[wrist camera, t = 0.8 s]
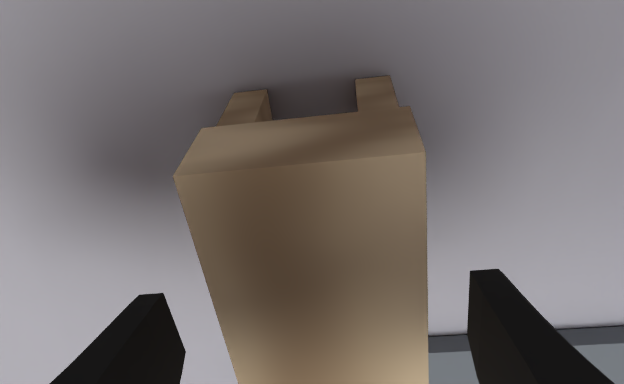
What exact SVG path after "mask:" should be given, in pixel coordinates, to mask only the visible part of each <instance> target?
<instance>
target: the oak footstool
mask: <svg viewBox="0 0 624 384" xmlns="http://www.w3.org/2000/svg"><path fill="white" fill-rule="evenodd" d="M355 85H356V97H357V108H358V112H349V113H340V114H330V115H321V116H311V117H302V118H292V119H283V120H273V119H272V114H271V109H270V103H269V98H268V92H267V89H265V90H256V91H247V92H238V93H234V94H233V96H232V98H231V99H230V101H229V103H228V105H227V107H226V109H225V111H224V112H223V114H222V116H221V118H220V120H219V122H218V124H217V125H216V127H207V128H201V130H200V131H199V133H198V135H197V136H196V138H195V140H194V142H193V143H192V145H191V147H190V148H189V150H188V152H187V153H186V155H185V157H184V158H183V160H182V162H181V163H180V165H179V167H178V168H177V170H176V172H175V173H174V175H173V179H174V182H175V185H176V188H177V191H178V195H179V198H180V201H181V204H182V207H183V210H184V214H185V217H186V220H187V223H188V226H189V229H190V232H191V236H192V239H193V242H194V245H195V248H196V251H197V255H198V258H199V261H200V264H201V267H202V270H203V273H204V277H205V280H206V283H207V286H208V289H209V292H210V296H211V299H212V302H213V305H214V308H215V311H216V314H217V318H218V321H219V324H220V327H221V330H222V333H223V336H224V340H225V343H226V346H227V349H228V352H229V355H230V359H231V362H232V365H233V368H234V371H235V374H236V377H237V381H238V384H429V365H428V287H427V208H426V151H425V148H424V146H423V143H422V140H421V137H420V134H419V131H418V128H417V125H416V123H415V120H414V117H413V114H412V111H411V108H410V106H406V107H399V105H398V102H397V98H396V95H395V92H394V88H393V85H392V81H391V78H390V75H389V76H380V77H371V78H362V79H355Z"/></svg>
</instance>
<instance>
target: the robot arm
mask: <svg viewBox="0 0 624 384" xmlns="http://www.w3.org/2000/svg"><path fill="white" fill-rule="evenodd" d="M467 336H468V341H469V345H470V350H471V354H472V358H473V362H474V367H475V371H476V375H477V379H478V382H479V384H615V383H614V382H612V381H611V380H610V379H609V378H608V377H607V376H605V375H604V374H603V373H602V372H601V371H600V370H599V369H598V368H596V367H595V366H594V365H593V364H592V363H591V362H590V361H589V360H587V359H586V358H585V357H584V356H583V355H582V354H581V353H580V352H579V351H578V350H577V349H576V348H574V347H573V346H572V345H571V344H570V343H569V342H568V341H567V340H566V339H565V338H564V337H563V336H562V335H561V334H560V333H559V332H558V331H557V330H556V329H555V328H554V327H553V326H552V325H551V324H550V323H549V322H548V321H547V320H546V319H545V318H544V317H543V316H542V315H541V314H540V313H539V312H538V311H537V310H536V309H535V308H534V307H533V306H532V305H531V303H530V302H529V301H528V300H527V299H526V298H525V297H524V296H523V295H522V294H521V293H520V292H519V290H518V289H517V288H516V287H515V286H514V285H513V284H512V283H511V282H510V280H509V279H508V278H507V277H506V276H505V275H504V274H503V273H502V272H501V271H500V270H499V269H489V270H475V271H470V285H469V307H468V329H467ZM185 353H186V351H185V349H184V346H183V343H182V341H181V338H180V336H179V333H178V330H177V328H176V325H175V322H174V320H173V317H172V315H171V312H170V309H169V307H168V304H167V302H166V299H165V296H164V294H163V293H158V294H144V295H139V296H138V297H136V298H135V299H134V300H133V301H132V302H131V303H130V304H129V305H128V306H127V307H126V308H125V309H124V310H123V311H122V312H121V313H120V314H119V315H118V316H117V317H116V318H115V320H114V321H113V322H112V323H111V324H110V325H109V326H108V327H107V328H106V329H105V330H104V331H103V332H102V333H101V334H100V335H99V336H98V337H97V338H96V339H95V340H94V341H93V342H92V343H91V344H90V345H89V346H88V347H87V348H86V349H85V350H84V351H83V352H82V353H81V354H80V355H79V356H78V357H77V358H76V359H75V360H74V361H73V362H72V363H71V364H70V365H69V366H68V367H67V368H66V369H65V370H64V371H63V372H62V373H61V374H60V375H58V376H57V377H56V378H55V379H54V380H53V381H52V382H51V383H50V384H180V380H181V375H182V369H183V364H184V358H185Z"/></svg>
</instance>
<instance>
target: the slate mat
mask: <svg viewBox="0 0 624 384" xmlns="http://www.w3.org/2000/svg"><path fill="white" fill-rule="evenodd" d="M557 331H558V332H559V333H560V334H561V335H562V336H563V337H564V338H565V339H566V340H567V341H568V342H569V343H570V344H571V345H572V346H573V347H574V348H576V349H577V350H578V351H579V352H580V353H581V354H582V355H583V356H584V357H585V358H586V359H587V360H589V361H590V362H591V363H592V364H593V365H594V366H595V367H596V368H598V369H599V370H600V371H601V372H602V373H603V374H604V375H605V376H607V377H608V378H609V379H610V380H611V381H612V382H614V383H615V384H624V326H618V327H600V328H582V329H564V330H557ZM428 365H429V384H479V382H478V379H477V375H476V371H475V367H474V362H473V358H472V354H471V350H470V345H469V341H468V336H467V335H456V336H438V337H428Z"/></svg>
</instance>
